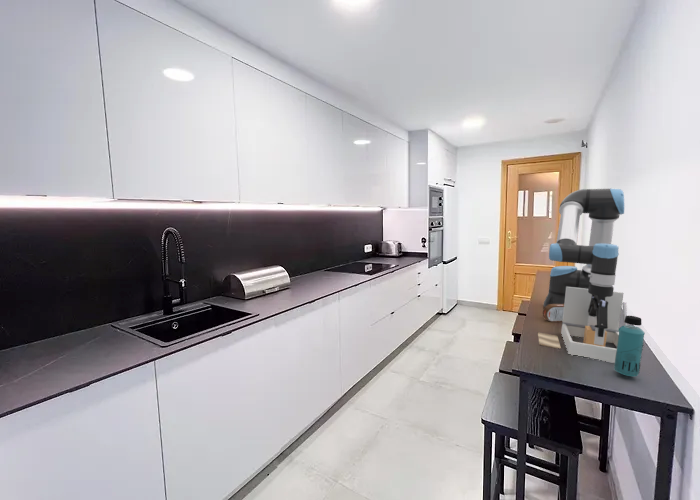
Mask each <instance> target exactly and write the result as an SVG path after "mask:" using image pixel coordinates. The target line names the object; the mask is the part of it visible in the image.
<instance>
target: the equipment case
mask: <svg viewBox="0 0 700 500" xmlns="http://www.w3.org/2000/svg"><path fill="white" fill-rule="evenodd" d="M591 298H592V294H590V293H589V292H588V289H585V288H575V287H566V294H565V303H564V312H563V321H562V322H561V333H560V335H561V334H562V335H561V337H563V338H562V340H564V341H563V343H564V342H565V343H564V346H565V345H566V346H565V349H566V348H567V349H566V352H567V351H568V352H567V354H571V355H570V356H573V355H578V356H584V357H590V358H594V359H599V360H598V361H600V360H602V361H601V362H605V361H606V362H607V363H610V364H611V363H612V364H615V358H616V356H615V355H616V351H617V344H618V336H619V328H620V323H621V316H622V319H623V320H622V321H623V326H624V325H629V324H627V323H625V322H624V320H625V317H626V316H628V309H627V308H628V307H627V306H628V305H627V302H623V301H624V299H623V298H624V292H621V291H613V296H611V297H605V301H608V328H607V329H605V330H606V332H607V337H606V343H610V344H613V345H615V347H616V348H614V347H609V346H605V347H603V346H597V345H591V344H585V343H583V342H580V341H579V342H578V341H573V338H572V336H570V335H575V336H580V337H584V332H585V326H588V319H589V316H590V315H589V313H588V309H589V306H590V302H591ZM595 317H597V316H595ZM601 325H603V324H601ZM578 356H577V357H578ZM594 359H593V360H594Z"/></svg>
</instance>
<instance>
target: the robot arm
mask: <svg viewBox="0 0 700 500" xmlns="http://www.w3.org/2000/svg"><path fill="white" fill-rule="evenodd" d="M558 212H559V215H560V218H559V224H558V230H557V235H556V236H557V237H556V242H555V243H551V244H550V246H549V253H548V259H549V260H550V261H554V262H559V263H572V264H581V265H582V264H583V265H584V266H582V269H578V267H577V266H573V265H559V266H558V265H557V266H553V267H552V268H551V270H550V274H549V283H548V284H549V286H548V292H547V295H546V297H545V299H544V301H543V307H544V308H545V307H546V306H547V305H549V304H564V303H565V294H566V287H575V288H585V289H588V292H589V293H590V294H592V298H591V302H590V306H589V309H588V313H589V315H590V316H589V319H588V326H590V325H594V326H595V327H596V330H595V338H594V344H597V345H603V344H604V336H605V329H607V328H608V301H605V297H611V296H613V292H614V290H615V287H614V286H615V284H616V283H615V282H616V271H617V266H618V265H617V264H618V258H619V255H620V254H619V245H618V244H614V243H613V244H612V242H613V241H612V239H613V236H614V235H613V233H614V227H615V222H616V221H617V220H619V219H620V216H622V215H624V214H625V194H624V190H623V189H621V188H612V187H611V188H583V189H578V190H575V191H572V192H571V193H569V194H568V195H566V197H564V199H563V200H562V201H561V203H560V204H559V209H558ZM582 214H588V218H589V219H590V220H591V225H590V226H591V227H590V234H589V235H590V236H589V241H588V242H589V243H588V245H582V244H578V236H579V229H580V228H579V227H580V219H581V218H580V217H581V216H582ZM595 316H597V317H595ZM601 324H603V325H601Z"/></svg>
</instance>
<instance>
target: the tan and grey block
mask: <svg viewBox="0 0 700 500" xmlns="http://www.w3.org/2000/svg"><path fill="white" fill-rule="evenodd" d="M595 330H596V327H595V326H594V325H590V326H585V332H584V338H583V340H582V341H583V342H582V343H585V344H591V345H597V344H594V338H595ZM606 337H607V332H606V330H605V336H604V344H603V345H597V346H603V347H606V344H607V342H606Z"/></svg>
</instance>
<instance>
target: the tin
mask: <svg viewBox="0 0 700 500" xmlns="http://www.w3.org/2000/svg"><path fill="white" fill-rule="evenodd" d="M563 312H564V304H549V305H547V306H546V307H544V308H543V309H542V317H543V319H544V320H547V321H548V322H551V323H555V322H557V321H563Z"/></svg>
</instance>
